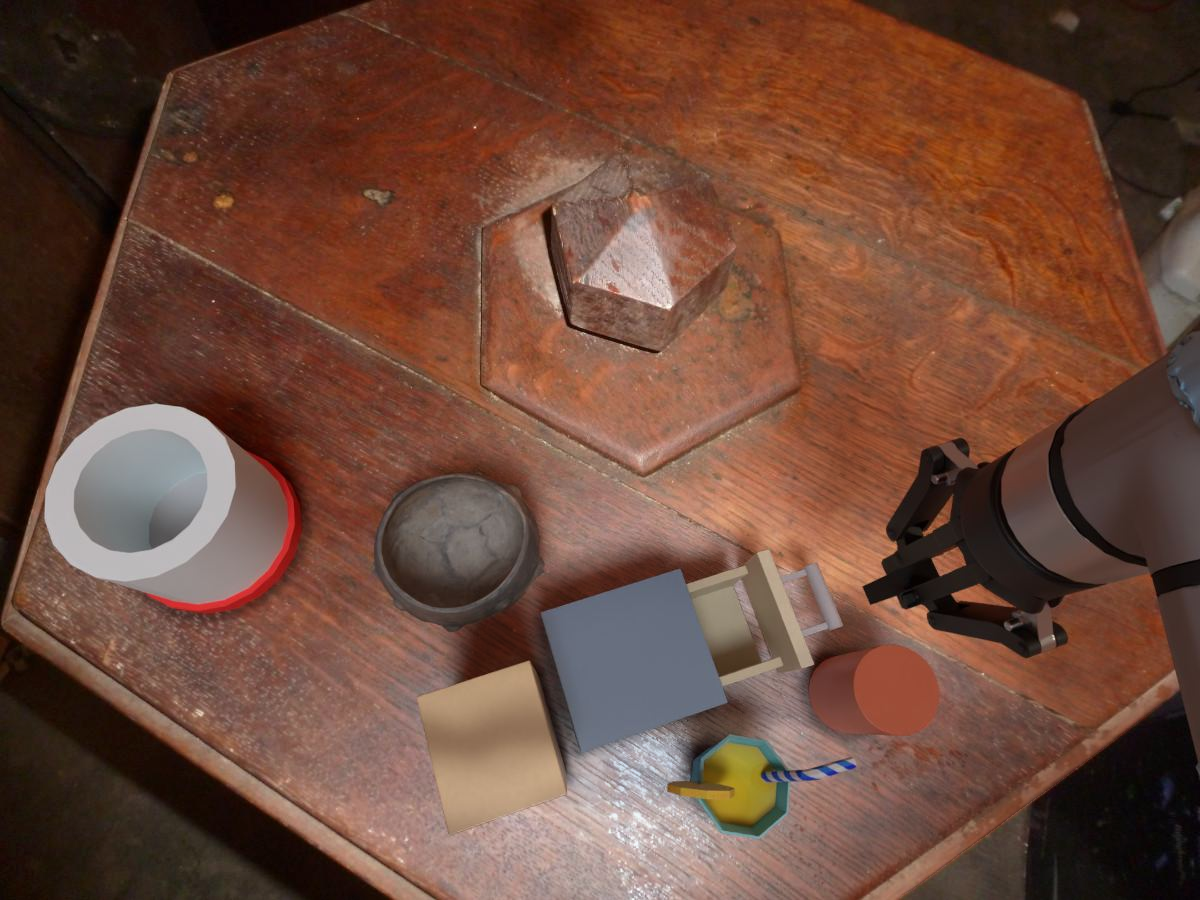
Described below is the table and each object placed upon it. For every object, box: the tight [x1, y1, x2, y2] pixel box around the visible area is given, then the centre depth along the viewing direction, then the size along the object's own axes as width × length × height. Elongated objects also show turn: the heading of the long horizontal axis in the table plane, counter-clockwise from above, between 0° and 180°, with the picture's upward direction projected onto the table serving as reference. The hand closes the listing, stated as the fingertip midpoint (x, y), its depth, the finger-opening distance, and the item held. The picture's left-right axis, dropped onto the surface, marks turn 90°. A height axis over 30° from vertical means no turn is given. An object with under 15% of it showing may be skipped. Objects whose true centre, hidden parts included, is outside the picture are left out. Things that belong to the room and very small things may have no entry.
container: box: [43, 403, 303, 615], centre depth 69 cm, size 16×16×15 cm
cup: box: [666, 734, 857, 840], centre depth 63 cm, size 14×8×15 cm, turn 104°
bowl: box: [371, 471, 546, 633], centre depth 71 cm, size 14×15×10 cm
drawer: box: [686, 548, 844, 687], centre depth 70 cm, size 16×10×8 cm, turn 108°
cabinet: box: [540, 567, 729, 754], centre depth 69 cm, size 13×12×10 cm
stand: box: [416, 660, 568, 836], centre depth 61 cm, size 9×8×20 cm
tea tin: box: [808, 644, 941, 737], centre depth 67 cm, size 7×7×12 cm
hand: (882, 590), depth 59 cm, fingers closed
